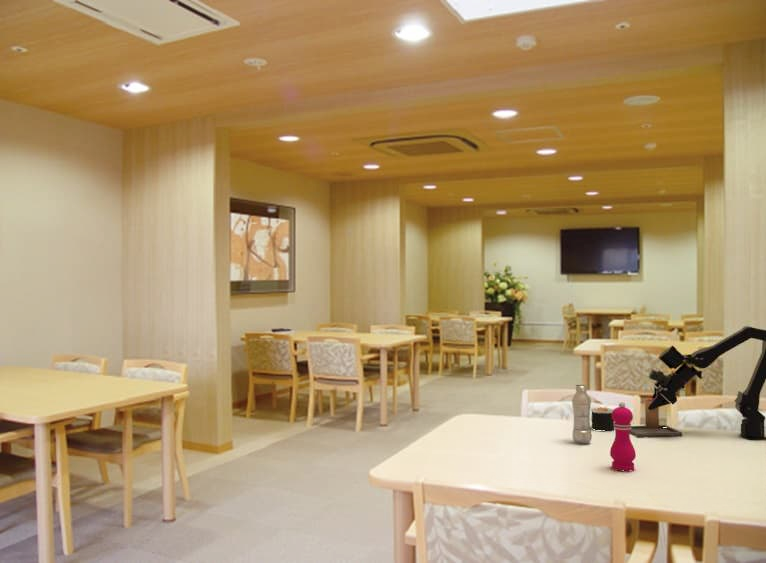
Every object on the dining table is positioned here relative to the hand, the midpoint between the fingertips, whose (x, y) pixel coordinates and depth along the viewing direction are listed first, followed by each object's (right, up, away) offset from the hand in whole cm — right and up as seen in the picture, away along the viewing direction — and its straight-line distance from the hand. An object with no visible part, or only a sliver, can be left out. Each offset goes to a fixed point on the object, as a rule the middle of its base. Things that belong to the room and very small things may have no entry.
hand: (647, 407), depth 240 cm
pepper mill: (-25, -10, -43) cm, 51 cm away
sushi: (-14, -10, +7) cm, 19 cm away
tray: (+1, -9, 0) cm, 9 cm away
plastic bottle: (-28, -10, -12) cm, 32 cm away
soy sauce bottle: (+1, -7, 0) cm, 7 cm away
